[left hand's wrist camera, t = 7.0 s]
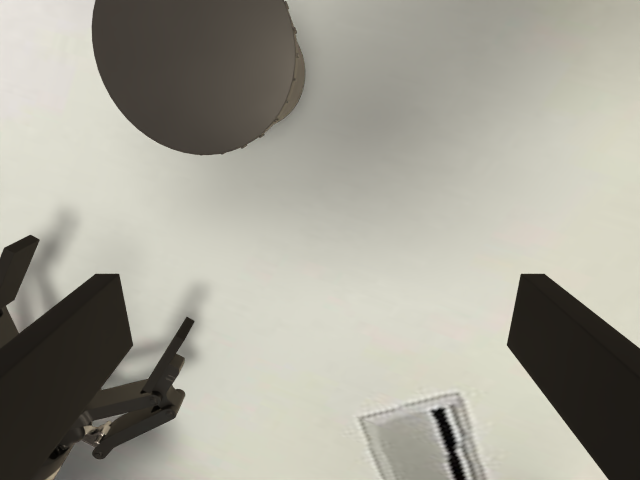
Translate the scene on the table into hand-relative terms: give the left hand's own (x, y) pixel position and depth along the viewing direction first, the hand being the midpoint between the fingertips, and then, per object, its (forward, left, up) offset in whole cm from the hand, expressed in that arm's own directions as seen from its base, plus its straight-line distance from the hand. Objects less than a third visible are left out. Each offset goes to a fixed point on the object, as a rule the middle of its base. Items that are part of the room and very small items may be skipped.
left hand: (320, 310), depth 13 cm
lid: (+2, -10, -9) cm, 14 cm away
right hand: (+18, +1, -16) cm, 24 cm away
